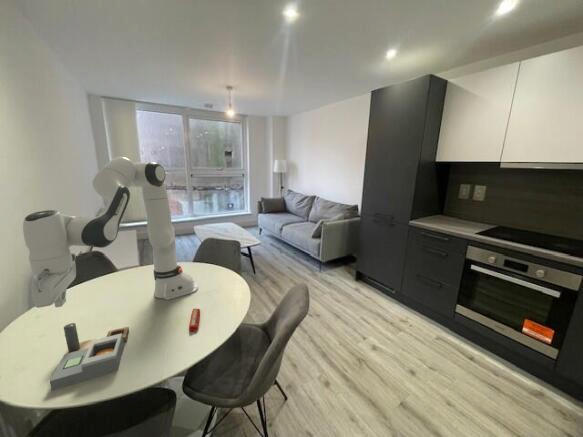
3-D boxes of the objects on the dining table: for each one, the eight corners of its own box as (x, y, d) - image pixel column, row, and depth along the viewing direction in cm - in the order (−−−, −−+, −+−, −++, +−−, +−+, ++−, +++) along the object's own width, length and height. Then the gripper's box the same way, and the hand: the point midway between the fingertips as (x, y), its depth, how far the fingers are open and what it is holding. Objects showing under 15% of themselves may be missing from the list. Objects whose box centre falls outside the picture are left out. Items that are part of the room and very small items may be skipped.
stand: (129, 331, 99) (128, 326, 99) (126, 342, 93) (125, 336, 93) (109, 336, 96) (108, 331, 96) (105, 347, 90) (104, 342, 90)
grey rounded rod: (80, 345, 90) (76, 322, 88) (78, 350, 87) (74, 326, 86) (69, 348, 89) (65, 324, 87) (67, 354, 86) (62, 329, 84)
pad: (96, 340, 94) (96, 338, 94) (90, 354, 87) (90, 352, 87) (70, 346, 91) (70, 344, 90) (62, 361, 84) (61, 359, 83)
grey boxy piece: (124, 346, 91) (122, 333, 90) (118, 370, 80) (115, 355, 79) (66, 362, 83) (63, 347, 82) (51, 390, 73) (47, 374, 72)
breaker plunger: (116, 353, 87) (115, 346, 86) (113, 363, 82) (112, 356, 82) (98, 357, 85) (97, 350, 84) (94, 368, 80) (93, 361, 80)
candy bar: (197, 332, 100) (197, 326, 99) (188, 334, 99) (187, 328, 98) (200, 311, 115) (200, 305, 114) (192, 312, 114) (192, 306, 113)
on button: (83, 363, 82) (81, 356, 82) (79, 371, 79) (78, 363, 78) (69, 367, 81) (68, 360, 80) (65, 375, 77) (64, 367, 77)
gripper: (51, 275, 64) (60, 320, 67) (77, 252, 82) (83, 288, 85) (18, 280, 61) (30, 326, 64) (53, 254, 79) (60, 292, 82)
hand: (61, 304), depth 75 cm, fingers closed
